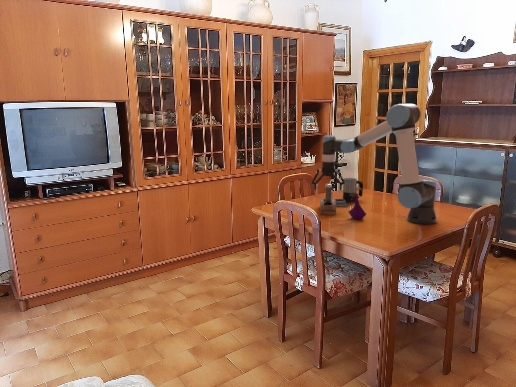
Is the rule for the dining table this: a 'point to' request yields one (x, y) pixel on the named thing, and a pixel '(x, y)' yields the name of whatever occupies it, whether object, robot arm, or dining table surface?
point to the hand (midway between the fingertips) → (327, 195)
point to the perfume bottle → (357, 208)
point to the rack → (327, 207)
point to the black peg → (328, 195)
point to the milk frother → (351, 189)
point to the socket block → (341, 203)
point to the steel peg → (327, 185)
